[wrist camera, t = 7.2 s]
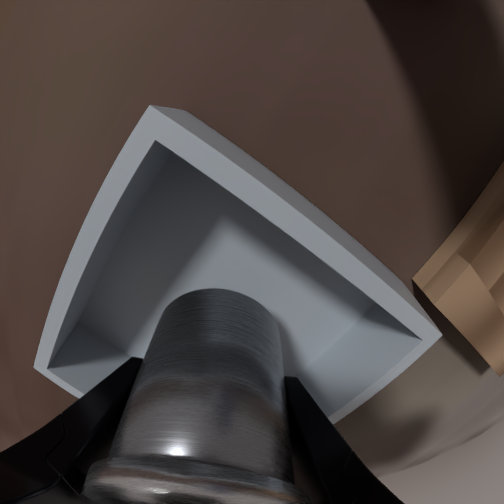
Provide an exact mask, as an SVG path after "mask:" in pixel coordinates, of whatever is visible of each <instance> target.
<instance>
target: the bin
mask: <svg viewBox="0 0 504 504" xmlns="http://www.w3.org/2000/svg"><path fill="white" fill-rule="evenodd" d="M207 288H218V289H227V290H232V291H236V292H239V293H242V294H244V295H247V296H249V297H251V298H252V299H254V300H256V301H257V302H259V303H260V304H261V305H263V306H264V307H265V308H266V309H267V310H268V311H269V312H270V314H271V315H272V316H273V318H274V320H275V321H276V323H277V326H278V329H279V333H280V341H281V350H282V359H283V369H284V376H296V377H298V379H299V380H300V381H301V383H302V384H303V385H304V387H305V388H306V389H307V391H308V392H309V394H310V395H311V396H312V398H313V399H314V400H315V402H316V403H317V404H318V406H319V407H320V408H321V410H322V411H323V412H324V414H325V415H326V416H327V417H328V419H329V420H330V421H331V423H332V424H335V423H336V422H338V421H339V420H341V419H342V418H343V417H345V416H346V415H348V414H349V413H351V412H352V411H353V410H355V409H356V408H357V407H359V406H360V405H362V404H363V403H364V402H366V401H367V400H368V399H370V398H371V397H372V396H373V395H375V394H376V393H377V392H379V391H380V390H381V389H382V388H384V387H385V386H386V385H387V384H389V383H390V382H391V381H392V380H394V379H395V378H396V377H397V376H398V375H399V374H401V373H402V372H403V371H404V370H405V369H406V368H408V367H409V366H410V365H411V364H412V363H413V362H414V361H416V360H417V359H418V358H419V357H420V356H421V355H422V354H423V353H424V352H425V351H426V350H428V349H429V348H430V347H431V346H432V345H433V344H434V343H435V342H436V341H437V340H438V339H439V338H440V337H441V336H442V333H441V332H440V330H439V329H438V328H437V326H436V325H435V324H434V322H433V321H432V320H431V318H430V317H429V316H428V314H427V313H426V312H425V310H424V309H423V308H422V306H421V305H420V304H419V303H418V301H417V300H416V299H415V297H414V296H413V295H412V294H411V292H410V291H409V290H408V289H407V287H406V286H405V285H404V284H403V282H402V281H401V280H400V279H399V278H398V277H397V276H396V275H395V274H393V273H392V272H391V271H390V270H389V269H388V268H387V267H386V266H385V265H384V264H382V263H381V262H380V261H379V260H378V259H377V258H376V257H375V256H374V255H372V254H371V253H370V252H369V251H368V250H367V249H366V248H364V247H363V246H362V245H361V244H360V243H359V242H358V241H356V240H355V239H354V238H353V237H352V236H351V235H349V234H348V233H347V232H346V231H345V230H344V229H342V228H341V227H340V226H339V225H338V224H336V223H335V222H334V221H333V220H332V219H330V218H329V217H328V216H327V215H326V214H324V213H323V212H322V211H321V210H320V209H318V208H317V207H316V206H315V205H313V204H312V203H311V202H310V201H308V200H307V199H306V198H305V197H303V196H302V195H301V194H300V193H298V192H297V191H296V190H295V189H293V188H292V187H291V186H289V185H288V184H287V183H286V182H284V181H283V180H282V179H280V178H279V177H278V176H277V175H275V174H274V173H273V172H271V171H270V170H269V169H267V168H266V167H265V166H263V165H262V164H261V163H259V162H258V161H257V160H255V159H254V158H253V157H251V156H250V155H249V154H247V153H246V152H244V151H243V150H242V149H240V148H239V147H238V146H236V145H235V144H233V143H232V142H231V141H229V140H228V139H226V138H225V137H224V136H222V135H221V134H219V133H218V132H216V131H215V130H214V129H212V128H211V127H209V126H208V125H206V124H205V123H203V122H202V121H201V120H199V119H198V118H196V117H195V116H193V115H192V114H190V113H189V112H187V111H186V110H181V109H174V108H167V107H160V106H152V105H149V107H148V108H147V110H146V112H145V113H144V115H143V116H142V118H141V119H140V121H139V122H138V124H137V125H136V127H135V129H134V130H133V132H132V133H131V135H130V137H129V138H128V140H127V142H126V143H125V145H124V147H123V148H122V150H121V152H120V154H119V155H118V157H117V159H116V161H115V162H114V164H113V166H112V168H111V170H110V171H109V173H108V175H107V177H106V179H105V181H104V183H103V185H102V187H101V188H100V190H99V192H98V194H97V196H96V198H95V200H94V202H93V204H92V206H91V208H90V211H89V213H88V215H87V217H86V219H85V221H84V223H83V226H82V228H81V230H80V232H79V235H78V237H77V239H76V241H75V244H74V246H73V248H72V251H71V253H70V256H69V258H68V261H67V263H66V266H65V268H64V271H63V274H62V276H61V279H60V282H59V284H58V287H57V290H56V293H55V296H54V298H53V301H52V304H51V307H50V310H49V314H48V317H47V320H46V323H45V327H44V330H43V333H42V337H41V340H40V344H39V348H38V352H37V355H36V359H35V364H34V368H35V369H36V370H38V371H39V372H40V373H42V374H43V375H44V376H46V377H47V378H49V379H50V380H52V381H53V382H54V383H56V384H57V385H59V386H60V387H62V388H63V389H65V390H66V391H68V392H69V393H71V394H73V395H74V396H76V397H77V398H81V397H82V396H83V395H85V394H86V393H87V392H88V391H90V390H91V389H92V388H93V387H95V386H96V385H97V384H98V383H100V382H101V381H102V380H103V379H105V378H106V377H107V376H108V375H110V374H111V373H112V372H113V371H115V370H116V369H117V368H118V367H120V366H121V365H122V364H123V363H125V362H126V361H127V360H128V359H130V358H131V357H139V358H143V359H144V356H145V354H146V351H147V349H148V346H149V344H150V341H151V339H152V336H153V334H154V332H155V329H156V327H157V324H158V322H159V319H160V317H161V315H162V313H163V311H164V310H165V308H166V307H167V306H168V305H169V304H170V303H171V302H172V301H173V300H175V299H176V298H178V297H179V296H181V295H183V294H186V293H188V292H191V291H195V290H199V289H207Z"/></svg>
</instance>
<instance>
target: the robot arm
mask: <svg viewBox="0 0 504 504" xmlns="http://www.w3.org/2000/svg"><path fill="white" fill-rule="evenodd" d="M142 361H143V358H139V357H131V358H130V359H128V360H127V361H126V362H125V363H123V364H122V365H121V366H120V367H118V368H117V369H116V370H115V371H113V372H112V373H111V374H110V375H108V376H107V377H106V378H105V379H103V380H102V381H101V382H100V383H98V384H97V385H96V386H95V387H93V388H92V389H91V390H90V391H88V392H87V393H86V394H85V395H83V396H82V397H81V398H79V399H78V400H77V401H76V402H74V403H73V404H72V405H71V406H69V407H68V408H67V409H66V410H64V411H63V412H62V414H59V415H58V416H57V417H55V418H54V419H53V420H52V421H50V422H49V423H47V424H46V425H45V426H43V427H42V428H40V429H39V430H37V431H36V432H34V433H33V434H31V435H30V436H28V437H26V438H25V439H23V440H21V441H20V442H18V443H16V444H14V445H13V446H11V447H9V448H8V449H6V450H4V451H2V452H0V504H82V503H81V501H80V495H81V492H82V489H83V486H84V483H85V480H86V477H87V474H88V471H89V468H90V466H91V465H92V464H93V463H95V462H96V461H99V460H102V459H106V458H108V455H109V452H110V449H111V446H112V443H113V440H114V437H115V434H116V431H117V429H118V426H119V423H120V420H121V417H122V414H123V412H124V409H125V406H126V403H127V401H128V398H129V395H130V393H131V390H132V387H133V385H134V382H135V379H136V377H137V374H138V372H139V369H140V366H141V364H142ZM284 378H285V387H286V397H287V407H288V417H289V427H290V437H291V448H292V459H293V470H294V481H295V486H297V487H299V488H301V489H302V490H304V491H305V492H306V493H307V494H308V496H309V497H310V504H404V503H403V502H402V501H401V500H399V499H398V498H397V497H396V496H395V495H394V494H393V493H392V492H391V491H390V490H389V489H388V488H387V487H386V486H385V485H384V484H382V483H381V482H380V481H379V480H378V479H377V478H376V477H375V476H374V475H373V474H372V473H371V471H370V470H369V469H368V468H367V467H366V466H365V465H364V464H363V462H362V461H361V460H360V459H359V458H358V456H357V455H356V454H355V452H354V451H352V449H351V447H350V446H349V445H348V444H347V442H346V441H345V440H344V438H343V437H342V436H341V435H340V433H339V432H338V431H337V429H336V428H335V427H334V425H333V424H332V423H331V421H330V420H329V419H328V417H327V416H326V415H325V414H324V412H323V411H322V410H321V408H320V407H319V406H318V404H317V403H316V402H315V400H314V399H313V398H312V396H311V395H310V394H309V392H308V391H307V389H306V388H305V387H304V385H303V384H302V383H301V381H300V380H299V379H298V377H296V376H284Z"/></svg>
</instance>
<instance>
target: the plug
mask: <svg viewBox="0 0 504 504" xmlns="http://www.w3.org/2000/svg"><path fill="white" fill-rule="evenodd" d="M80 501H81V503H82V504H310V497H309V496H308V494H307V493H306V492H305V491H304V490H302V489H301V488H299V487H297V486H295V481H294V470H293V459H292V448H291V437H290V427H289V417H288V407H287V397H286V387H285V378H284V369H283V359H282V350H281V341H280V333H279V329H278V326H277V323H276V321H275V320H274V318H273V316H272V315H271V314H270V312H269V311H268V310H267V309H266V308H265V307H264V306H263V305H261V304H260V303H259V302H257V301H256V300H254V299H252V298H251V297H249V296H247V295H244V294H242V293H239V292H236V291H232V290H227V289H218V288H207V289H199V290H195V291H191V292H188V293H186V294H183V295H181V296H179V297H178V298H176V299H175V300H173V301H172V302H171V303H170V304H169V305H168V306H167V307H166V308H165V310H164V311H163V313H162V315H161V317H160V319H159V322H158V324H157V327H156V329H155V332H154V334H153V336H152V339H151V341H150V344H149V346H148V349H147V351H146V354H145V356H144V359H143V361H142V364H141V366H140V369H139V372H138V374H137V377H136V379H135V382H134V385H133V387H132V390H131V393H130V395H129V398H128V401H127V403H126V406H125V409H124V412H123V414H122V417H121V420H120V423H119V426H118V429H117V431H116V434H115V437H114V440H113V443H112V446H111V449H110V452H109V455H108V458H106V459H102V460H99V461H96V462H95V463H93V464H92V465H91V466H90V468H89V471H88V474H87V477H86V480H85V483H84V486H83V489H82V492H81V495H80Z"/></svg>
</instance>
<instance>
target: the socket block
mask: <svg viewBox="0 0 504 504" xmlns="http://www.w3.org/2000/svg"><path fill="white" fill-rule="evenodd" d="M412 279H413V281H414V282H415V283H416V284H417V285H418V286H419V288H420V289H421V290H422V291H423V292H424V293H425V295H426V296H427V297H428V298H429V299H430V301H431V302H432V303H433V304H434V305H435V306H436V307H437V308H438V309H439V310H440V311H441V312H442V314H443V315H444V316H445V317H446V318H447V319H448V320H449V321H450V322H451V323H452V324H453V325H454V326H455V327H456V328H457V329H458V330H459V331H460V332H461V334H462V335H463V336H464V337H465V338H466V339H467V340H468V341H469V342H470V343H471V344H472V346H473V347H474V348H475V349H476V350H477V351H478V352H479V353H480V354H481V356H482V357H483V358H484V359H485V360H486V361H487V362H488V364H489V365H490V366H491V367H492V368H493V369H494V371H495V372H496V373H497V374H498V375H499V377H500V376H501V375H502V374H503V373H504V161H503V162H502V164H501V165H500V167H499V168H498V170H497V171H496V173H495V174H494V176H493V177H492V179H491V180H490V182H489V183H488V185H487V186H486V187H485V189H484V190H483V192H482V193H481V195H480V196H479V197H478V199H477V200H476V201H475V203H474V204H473V205H472V207H471V208H470V209H469V211H468V212H467V213H466V215H465V216H464V217H463V219H462V220H461V221H460V222H459V224H458V225H457V226H456V228H455V229H454V230H453V231H452V233H451V234H450V235H449V236H448V237H447V239H446V240H445V241H444V242H443V243H442V245H441V246H440V247H439V248H438V249H437V251H436V252H435V253H434V254H433V255H432V256H431V258H430V259H429V260H428V261H427V262H426V263H425V264H424V266H423V267H422V268H421V269H420V270H419V271H418V272H417V273H416V274H415V276H414V277H413V278H412Z"/></svg>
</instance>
